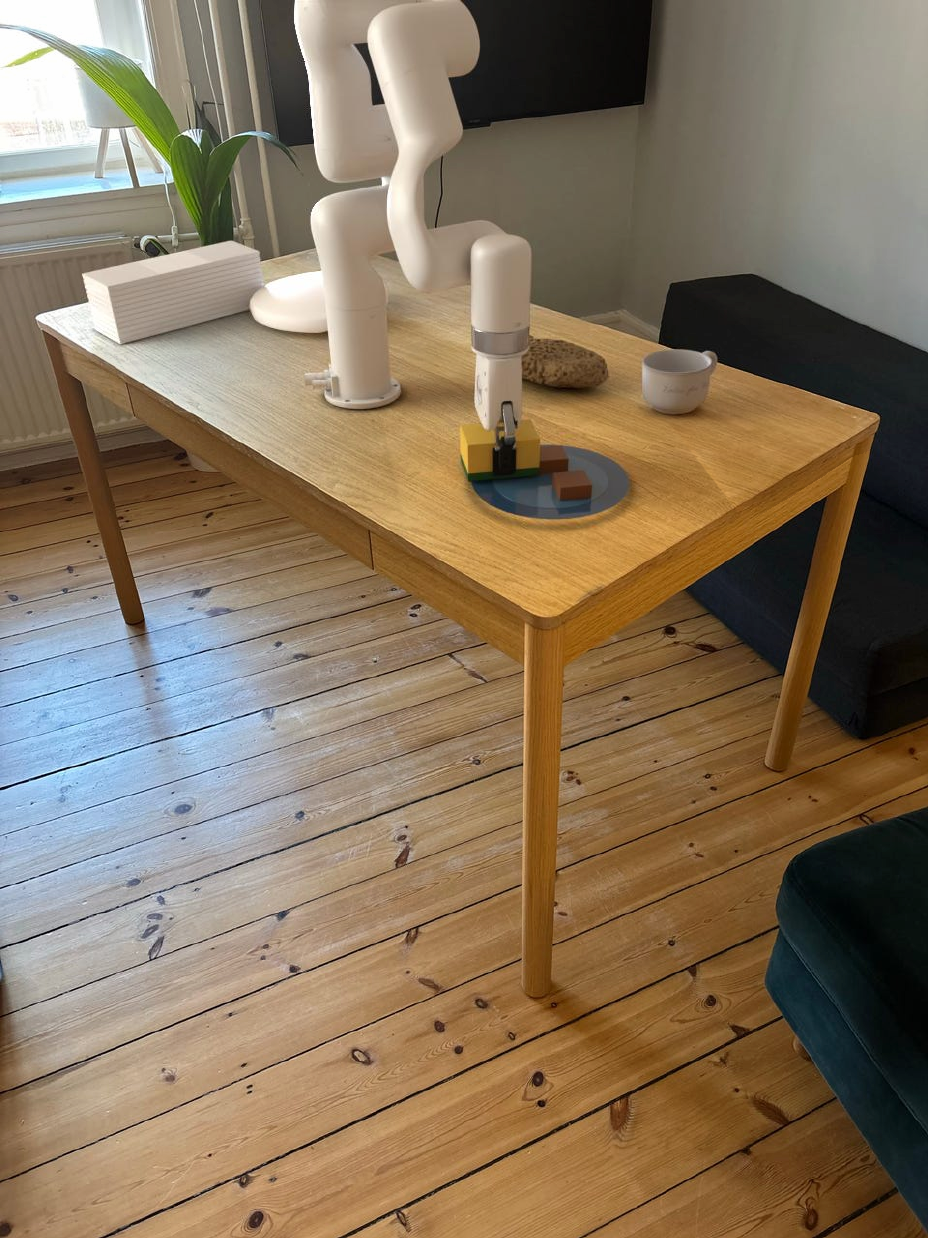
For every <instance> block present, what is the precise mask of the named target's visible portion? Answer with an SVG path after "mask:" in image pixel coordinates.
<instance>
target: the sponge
mask: <svg viewBox="0 0 928 1238" xmlns="http://www.w3.org/2000/svg"><path fill="white" fill-rule="evenodd" d="M521 360H522V379H524V380H526V381H530V382H532V383H535V384H538V385H542V386H549V387H555V388H569V389H571V388H573V389H584V388H589V387H591V388H592V387H597V386H600V385H603V384H604V383H605V382H606V381H607V380H608V379H609V377H610V373H609V369H608V363H607V362H606V358H604V356H602V355H599V354H598V353H596V352H595V351H594V350H590V349H588V348H586V347H583V346H581V345H578V344H575V343H573V342H569V341H567V340H563V339H553V338H538V337H534V336H533V335H531V334H529V350H528V352H527V353H525V354H523V355H521Z"/></svg>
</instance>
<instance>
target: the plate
mask: <svg viewBox="0 0 928 1238" xmlns="http://www.w3.org/2000/svg"><path fill="white" fill-rule="evenodd" d="M383 283H384V286H385V294H386V306H387V305H388V302H389V298H390V291H389V287H388V285H387V283H386V282H385V281H384V280H383ZM263 286H264V287H262V288H260V289H259V290H258V291H257V292H256V293H254V295H253V297H252V298H251V300H250V310H249V311H250V313H251V314H252V317H253V319H254V320H255V321H256V322H258V324H260V325H263V326H264V327H265V326H266V327H268V328H271V329H275V330H279V331H284V332H290V333H291V332H292V333H303V334H304V333H305V334H309V333H310V334H320V333H326V332H328V326H327V315H326V305H325V296H324V286H323V278H322V272H321V270H318V271H317V270H316V271H311V272H304V273H299V274H294V275H291V276H287V277H283V278H280V279H277V280H274V281H271V282H269V283H267V284H266V285H263Z"/></svg>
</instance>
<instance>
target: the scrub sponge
mask: <svg viewBox="0 0 928 1238" xmlns="http://www.w3.org/2000/svg"><path fill="white" fill-rule="evenodd" d="M500 426H503V422H498V424H497V427H500ZM515 435H516V448H517V449H516V473H515V474H514V475H503V476H494V475H493V473H492V448H495V443H494V430H490V431H487V430H486V429H485V428H484V427H483V425H482V423H481V422H480V423H479V422H478V423H467V424H466V423H465V424H460V425H459V441H460V442H459V444H460V446H459V447H460V463H461V465H462V468H463V470H464V474H465V478H466V480H467V482H471V481H478V480H489V479H501V478H512V477H524V476H535V475H539V460H540V445H541V438H540V436H539V434H538V432H537V430H536V428H535V426H534V424H533V421H532V420H531V419H521V425H520V426H519V427H518V428H517V429H516V428H515ZM501 436H504V431H499V440H500V439H501Z"/></svg>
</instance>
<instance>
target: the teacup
mask: <svg viewBox="0 0 928 1238" xmlns="http://www.w3.org/2000/svg"><path fill="white" fill-rule="evenodd" d="M641 365H642V368H641V369H642V370H641V372H642V373H641V393H642V397H643V399H644V401H645V402H646V403H647V404H648V405H649V406H651V408H652V409H653V410H655V411H657V412H659V413H661V414H666V415H682V414H683V415H684V414H687V413H691V412H692V411H694V410H695V409H696V408H697V407H699V406H700V405H702V404H703V403H704V402H705V401H706V399H707V397H708V393H709V388H710V382H711V376H712V375H713V374H714V372H715V371H716V369H717V365H718V356H717V355H716V353H715V352H714V351H710V350H704V351H703V352H700V351H696V350H691V349H681V348H680V349H679V348H678V349H671V348H669V349H661V350H656V351H653V352H649V353H648V354H646V355H645V356H643V358H642V359H641Z"/></svg>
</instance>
